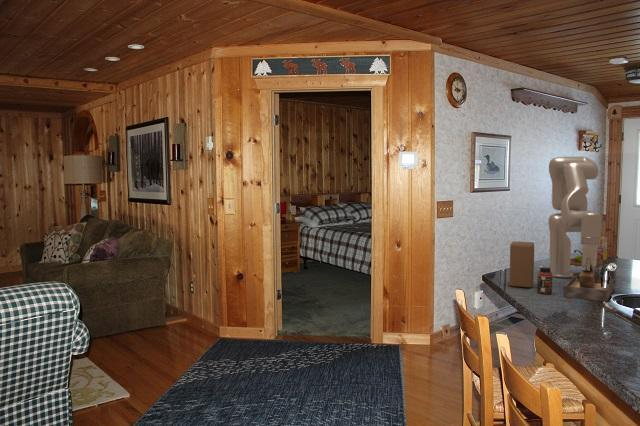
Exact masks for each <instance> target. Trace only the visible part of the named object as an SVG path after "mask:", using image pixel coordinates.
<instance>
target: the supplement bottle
mask: <svg viewBox="0 0 640 426" xmlns="http://www.w3.org/2000/svg"><path fill="white" fill-rule="evenodd" d="M539 268H540V270H539V271H538V272H537V277H536V278H537V280H536V282H537V286H536V292H537V293H538V294H542V295H550V294H552V292H553V277H552V273H551V272H550V267H547V266H545V267H540V266H539Z"/></svg>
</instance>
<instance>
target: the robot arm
mask: <svg viewBox="0 0 640 426" xmlns="http://www.w3.org/2000/svg"><path fill="white" fill-rule="evenodd" d="M548 172H549V176H550V177H549V178H550V179H551V187H552V188H551V191H552V192H551V205H552V209H554V210H555V211H560V212H559V213H557V212H556V213H553V214H551V215H550V216H549V217H548V230H549V262H548V263H549V265H547V266H544V265H540V266H539V268H540V267H550V272H551V273H552V278H572V277H573V276H574V273H572V272H571V265H570V259H571V253H572V252H571V248H572V241H571V238H570V237H569V236H568V235H567V233H580V245H582V248H583V250H582V249H581V250H582V251H581V253H582V265H581V266H582V267H581V268H585V270H586V271H595V268H594V267H595V266H596V262H597V261H598V259H597V245H600V243H601V237H602V236H601V234H602V215H601V213H599V212H596V211H594V210H588V198H587V195H588V193H589V187H588V186H589V185H588V181H587V180H595V179H597V178H598V176H599V167H598V164H597V163H596V162H595V161H594V160H592V159H591V158H589V157H586V156H558V157H553V158H552V159H551V160H549V162H548ZM585 265H586V267H584V266H585Z"/></svg>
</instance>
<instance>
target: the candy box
mask: <svg viewBox="0 0 640 426" xmlns="http://www.w3.org/2000/svg"><path fill="white" fill-rule="evenodd" d="M607 259H608V236H601V243H600V245H597V260H598V261H600V260H601V261H606V260H607Z"/></svg>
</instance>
